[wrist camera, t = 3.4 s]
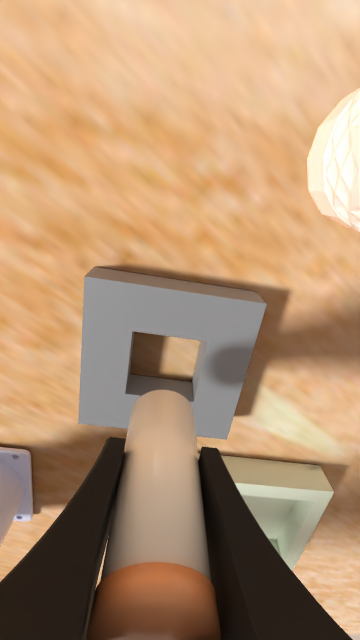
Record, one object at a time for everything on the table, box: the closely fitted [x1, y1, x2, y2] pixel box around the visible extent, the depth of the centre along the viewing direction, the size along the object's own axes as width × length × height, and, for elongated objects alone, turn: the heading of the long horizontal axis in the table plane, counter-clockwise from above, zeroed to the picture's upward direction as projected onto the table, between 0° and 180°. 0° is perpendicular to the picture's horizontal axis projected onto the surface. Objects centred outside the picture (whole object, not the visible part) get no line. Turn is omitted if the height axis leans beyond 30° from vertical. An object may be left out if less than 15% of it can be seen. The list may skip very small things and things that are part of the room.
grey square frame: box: [78, 267, 267, 439], centre depth 19 cm, size 10×10×2 cm
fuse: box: [86, 390, 221, 640], centre depth 11 cm, size 3×3×8 cm
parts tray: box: [198, 453, 334, 571], centre depth 25 cm, size 12×10×2 cm
